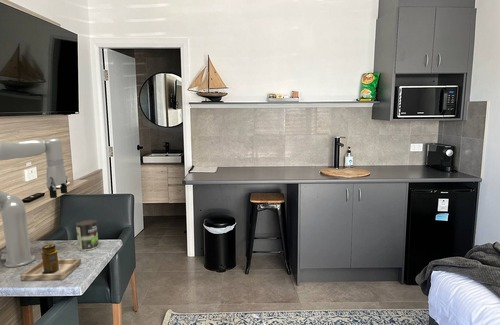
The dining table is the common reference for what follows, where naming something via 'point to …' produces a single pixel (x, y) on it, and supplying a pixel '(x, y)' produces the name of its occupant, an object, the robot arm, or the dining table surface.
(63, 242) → the dining table surface
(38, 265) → the tray
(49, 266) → the condiment
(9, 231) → the robot arm
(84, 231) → the coffee can
